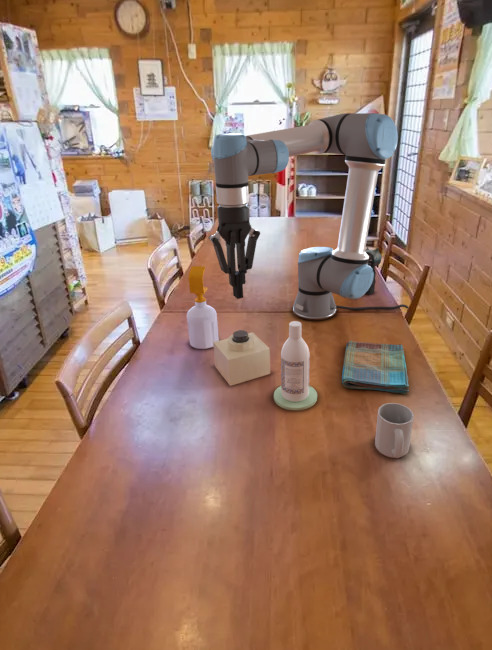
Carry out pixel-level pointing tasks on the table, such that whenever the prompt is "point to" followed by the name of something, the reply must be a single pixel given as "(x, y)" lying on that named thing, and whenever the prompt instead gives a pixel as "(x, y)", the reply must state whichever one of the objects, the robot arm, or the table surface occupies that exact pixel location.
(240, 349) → the push button box
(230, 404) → the table surface
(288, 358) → the bath foam
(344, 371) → the dish towel
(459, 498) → the table surface
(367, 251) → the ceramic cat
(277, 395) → the mat
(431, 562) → the table surface
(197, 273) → the spray bottle
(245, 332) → the push button
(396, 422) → the cup
